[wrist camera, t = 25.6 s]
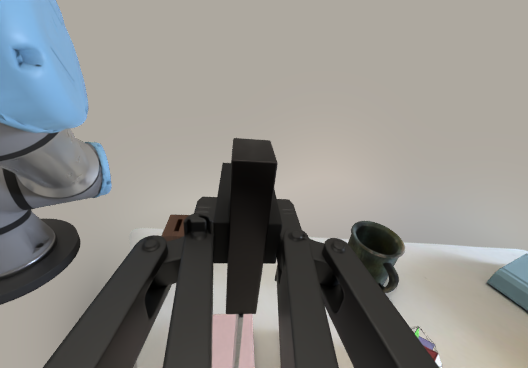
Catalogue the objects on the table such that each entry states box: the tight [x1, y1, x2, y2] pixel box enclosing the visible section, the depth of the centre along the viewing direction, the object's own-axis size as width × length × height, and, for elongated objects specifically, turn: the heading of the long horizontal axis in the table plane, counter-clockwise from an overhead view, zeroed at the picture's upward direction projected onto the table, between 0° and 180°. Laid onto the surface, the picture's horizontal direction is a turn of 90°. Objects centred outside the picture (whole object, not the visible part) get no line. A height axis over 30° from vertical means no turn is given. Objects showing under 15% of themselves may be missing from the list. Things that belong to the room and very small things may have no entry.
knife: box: [226, 138, 277, 368], centre depth 16 cm, size 2×3×23 cm, turn 5°
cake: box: [212, 314, 255, 368], centre depth 36 cm, size 8×10×6 cm
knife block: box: [162, 215, 189, 241], centre depth 53 cm, size 5×7×10 cm
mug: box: [348, 221, 405, 293], centre depth 52 cm, size 11×15×12 cm
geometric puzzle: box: [411, 326, 442, 368], centre depth 39 cm, size 7×7×8 cm
